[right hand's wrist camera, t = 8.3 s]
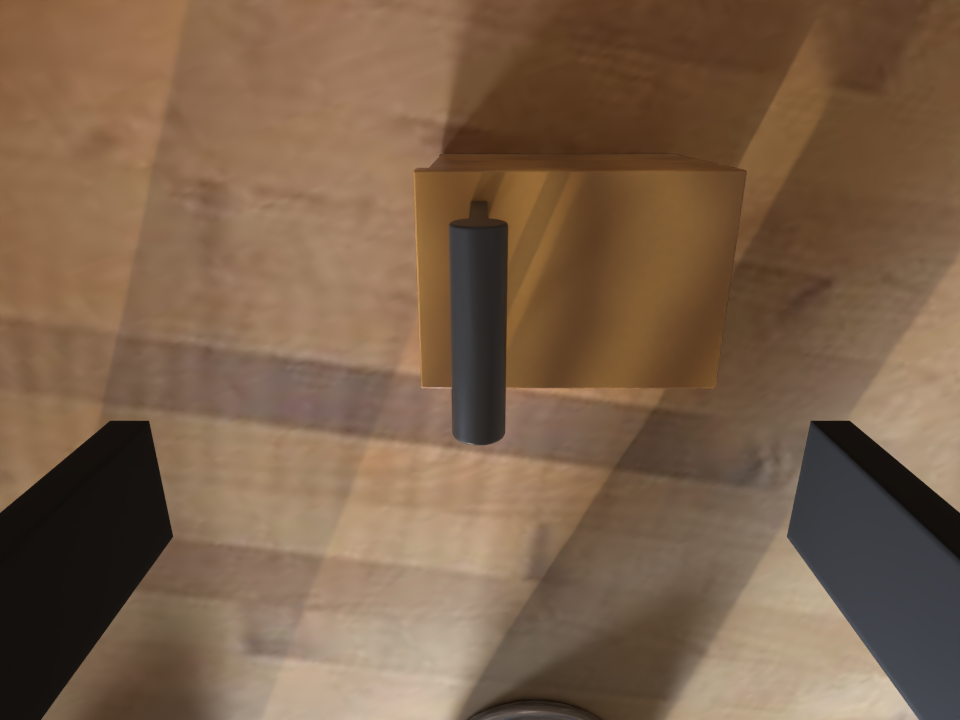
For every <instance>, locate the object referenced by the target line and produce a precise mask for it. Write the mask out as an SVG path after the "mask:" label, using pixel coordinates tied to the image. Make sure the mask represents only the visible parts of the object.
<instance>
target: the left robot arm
mask: <svg viewBox="0 0 960 720" xmlns="http://www.w3.org/2000/svg"><path fill="white" fill-rule="evenodd" d="M469 720H600V719H599V718H597V717H596V716H594V715H592V714H590V713H588V712H586V711H584V710H582V709H579V708H576V707H574V706H570V705H566V704H562V703H557V702H550V701H520V702H513V703H508V704H503V705H500V706H496V707H493V708H490V709H488V710H485V711H483V712H481V713H479V714H477V715H475V716H473V717H472V718H470V719H469Z"/></svg>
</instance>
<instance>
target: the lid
mask: <svg viewBox="0 0 960 720" xmlns="http://www.w3.org/2000/svg"><path fill="white" fill-rule="evenodd" d="M413 173H414V201H415V228H416V256H417V284H418V311H419V339H420V366H421V387H422V388H452V433H453V435H454V437H455V438H456V439H457V440H458V441H460V442H462V443H465V444H470V445H487V444H492V443H495V442H497V441H499V440H500V439H502V438H503V436H504V434H505V406H506V388H715V387H716V380H717V373H718V366H719V359H720V352H721V345H722V338H723V331H724V324H725V318H726V311H727V304H728V297H729V290H730V283H731V276H732V269H733V262H734V256H735V249H736V242H737V235H738V228H739V221H740V214H741V207H742V200H743V193H744V187H745V180H746V173H747V172H746V170H742V169H738V168H417V169H415V170H414V172H413Z"/></svg>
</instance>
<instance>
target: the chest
mask: <svg viewBox="0 0 960 720" xmlns="http://www.w3.org/2000/svg"><path fill="white" fill-rule="evenodd" d="M430 168H733V167H729V166H724V165H720V164H715V163H711V162H706V161H702V160H697V159H693V158H688V157H684V156H681V155H677V154H440V155H439V158H438V159H437V160H436V161H435V162H434V163H433V164H432V165H431V166H430Z"/></svg>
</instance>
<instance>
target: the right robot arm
mask: <svg viewBox="0 0 960 720" xmlns="http://www.w3.org/2000/svg"><path fill="white" fill-rule="evenodd" d="M172 537H173V534H172V529H171V524H170V520H169V515H168V510H167V505H166V500H165V495H164V491H163V486H162V481H161V476H160V471H159V467H158V462H157V457H156V452H155V447H154V443H153V438H152V433H151V428H150V423H149V421H110V422H108V423H107V424H106V425H105V426H104V427H102V428H101V429H100V430H99V431H98V432H96V433H95V434H94V435H93V436H92V437H90V438H89V439H88V440H87V441H86V442H84V443H83V444H82V445H81V446H80V447H78V448H77V449H76V450H75V451H74V452H72V453H71V454H70V455H69V456H68V457H67V458H65V459H64V460H63V461H62V462H61V463H59V464H58V465H57V466H56V467H55V468H53V469H52V470H51V471H50V472H49V473H47V474H46V475H45V476H44V477H43V478H41V479H40V480H39V481H38V482H37V483H35V484H34V485H33V486H32V487H31V488H29V489H28V490H27V491H26V492H25V493H24V494H22V495H21V496H20V497H19V498H18V499H16V500H15V501H14V502H13V503H12V504H10V505H9V506H8V507H7V508H6V509H4V510H3V511H2V512H1V513H0V720H41V719H42V717H43V716H44V715H45V713H46V712H47V711H48V709H49V708H50V706H51V705H52V704H53V702H54V701H55V699H56V698H57V697H58V695H59V694H60V693H61V691H62V690H63V688H64V687H65V686H66V684H67V683H68V681H69V680H70V679H71V677H72V676H73V675H74V673H75V672H76V670H77V669H78V668H79V666H80V665H81V663H82V662H83V661H84V659H85V658H86V657H87V655H88V654H89V652H90V651H91V650H92V648H93V647H94V645H95V644H96V643H97V641H98V640H99V639H100V637H101V636H102V634H103V633H104V632H105V630H106V629H107V627H108V626H109V625H110V623H111V622H112V621H113V619H114V618H115V616H116V615H117V614H118V612H119V611H120V609H121V608H122V607H123V605H124V604H125V603H126V601H127V600H128V598H129V597H130V596H131V594H132V593H133V591H134V590H135V589H136V587H137V586H138V585H139V583H140V582H141V580H142V579H143V578H144V576H145V575H146V573H147V572H148V571H149V569H150V568H151V566H152V565H153V564H154V562H155V561H156V560H157V558H158V557H159V555H160V554H161V553H162V551H163V550H164V548H165V547H166V546H167V544H168V543H169V542H170V540H171V539H172ZM787 537H788V539H789V540H790V542H791V543H792V544H793V546H794V547H795V548H796V550H797V551H798V553H799V554H800V555H801V557H802V558H803V560H804V561H805V562H806V564H807V565H808V566H809V568H810V569H811V571H812V572H813V573H814V575H815V576H816V578H817V579H818V580H819V582H820V583H821V585H822V586H823V587H824V589H825V590H826V591H827V593H828V594H829V596H830V597H831V598H832V600H833V601H834V603H835V604H836V605H837V607H838V608H839V609H840V611H841V612H842V614H843V615H844V616H845V618H846V619H847V621H848V622H849V623H850V625H851V626H852V627H853V629H854V630H855V632H856V633H857V634H858V636H859V637H860V639H861V640H862V641H863V643H864V644H865V645H866V647H867V648H868V650H869V651H870V652H871V654H872V655H873V657H874V658H875V659H876V661H877V662H878V663H879V665H880V666H881V668H882V669H883V670H884V672H885V673H886V675H887V676H888V677H889V679H890V680H891V681H892V683H893V684H894V686H895V687H896V688H897V690H898V691H899V693H900V694H901V695H902V697H903V698H904V699H905V701H906V702H907V704H908V705H909V706H910V708H911V709H912V711H913V712H914V713H915V715H916V716H917V717H918V719H919V720H960V513H959V512H958V511H957V510H956V509H954V508H953V507H952V506H951V505H950V504H948V503H947V502H946V501H945V500H944V499H942V498H941V497H940V496H939V495H938V494H936V493H935V492H934V491H933V490H932V489H931V488H929V487H928V486H927V485H926V484H925V483H923V482H922V481H921V480H920V479H919V478H917V477H916V476H915V475H914V474H913V473H911V472H910V471H909V470H908V469H907V468H905V467H904V466H903V465H902V464H901V463H899V462H898V461H897V460H896V459H895V458H893V457H892V456H891V455H890V454H889V453H888V452H886V451H885V450H884V449H883V448H882V447H880V446H879V445H878V444H877V443H876V442H874V441H873V440H872V439H871V438H870V437H868V436H867V435H866V434H865V433H864V432H862V431H861V430H860V429H859V428H858V427H856V426H855V425H854V424H853V423H852V422H850V421H811V423H810V428H809V433H808V438H807V443H806V447H805V452H804V457H803V462H802V467H801V471H800V476H799V481H798V486H797V491H796V495H795V500H794V505H793V510H792V515H791V520H790V524H789V529H788V534H787Z"/></svg>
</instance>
